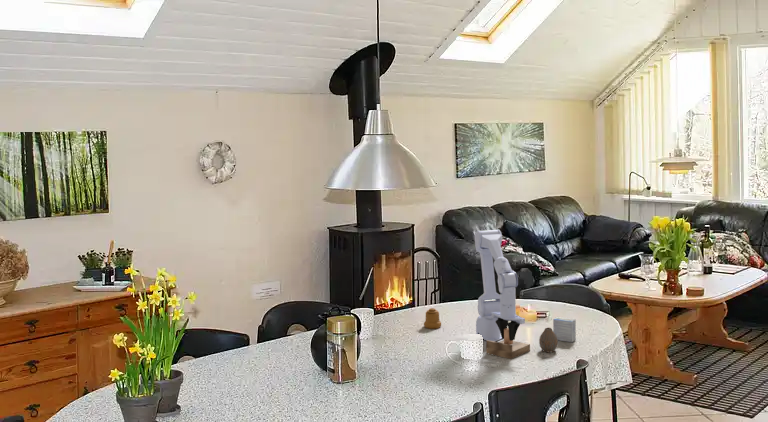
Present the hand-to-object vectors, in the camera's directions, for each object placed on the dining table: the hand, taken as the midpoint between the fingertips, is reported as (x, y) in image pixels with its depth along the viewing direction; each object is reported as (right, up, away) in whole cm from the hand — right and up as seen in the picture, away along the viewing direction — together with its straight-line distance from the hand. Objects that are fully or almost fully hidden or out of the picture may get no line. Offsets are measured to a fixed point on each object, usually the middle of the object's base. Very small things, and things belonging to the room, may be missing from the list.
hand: (508, 339), depth 298 cm
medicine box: (+25, -3, +15) cm, 29 cm away
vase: (+16, -5, +1) cm, 16 cm away
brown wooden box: (0, -5, +1) cm, 5 cm away
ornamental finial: (-26, -1, +39) cm, 47 cm away
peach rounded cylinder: (0, -2, 0) cm, 2 cm away
